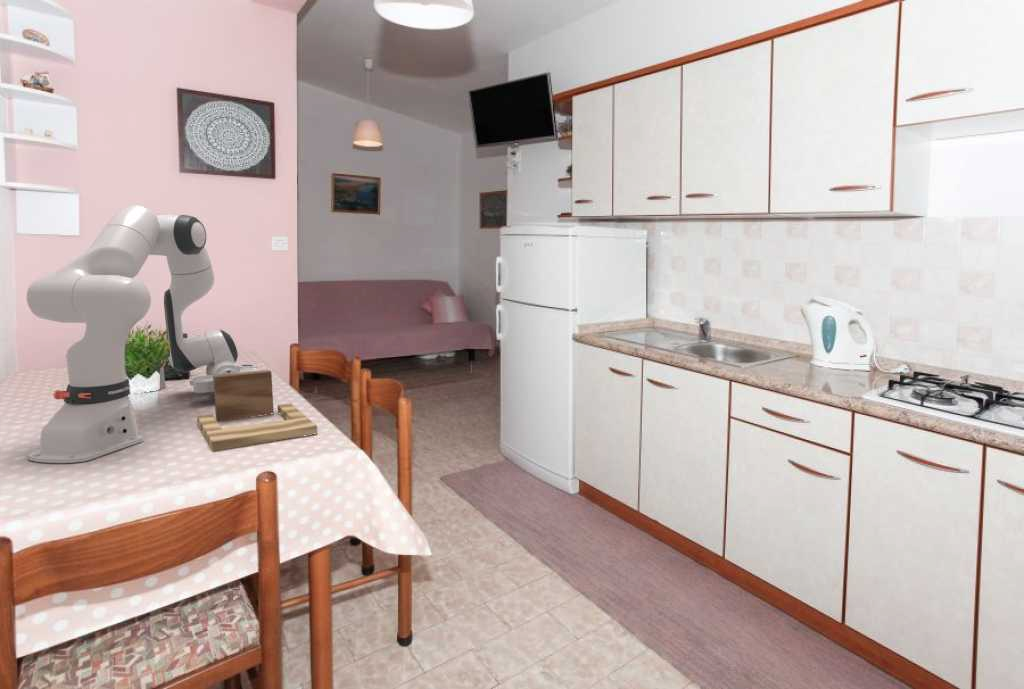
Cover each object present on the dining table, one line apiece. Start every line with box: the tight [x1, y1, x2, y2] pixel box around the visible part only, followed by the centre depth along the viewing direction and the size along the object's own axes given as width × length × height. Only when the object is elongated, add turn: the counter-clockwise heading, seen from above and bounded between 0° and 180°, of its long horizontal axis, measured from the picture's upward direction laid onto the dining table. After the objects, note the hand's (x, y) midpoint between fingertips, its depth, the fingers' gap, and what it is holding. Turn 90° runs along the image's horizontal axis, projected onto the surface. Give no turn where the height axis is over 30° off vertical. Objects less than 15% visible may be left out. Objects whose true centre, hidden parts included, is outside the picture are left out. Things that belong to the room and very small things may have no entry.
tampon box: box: [164, 332, 191, 382], centre depth 210 cm, size 11×9×15 cm
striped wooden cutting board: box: [196, 402, 318, 452], centre depth 154 cm, size 25×24×2 cm
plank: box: [213, 369, 275, 423], centre depth 164 cm, size 4×14×12 cm, turn 124°
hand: (235, 386), depth 174 cm, fingers closed
